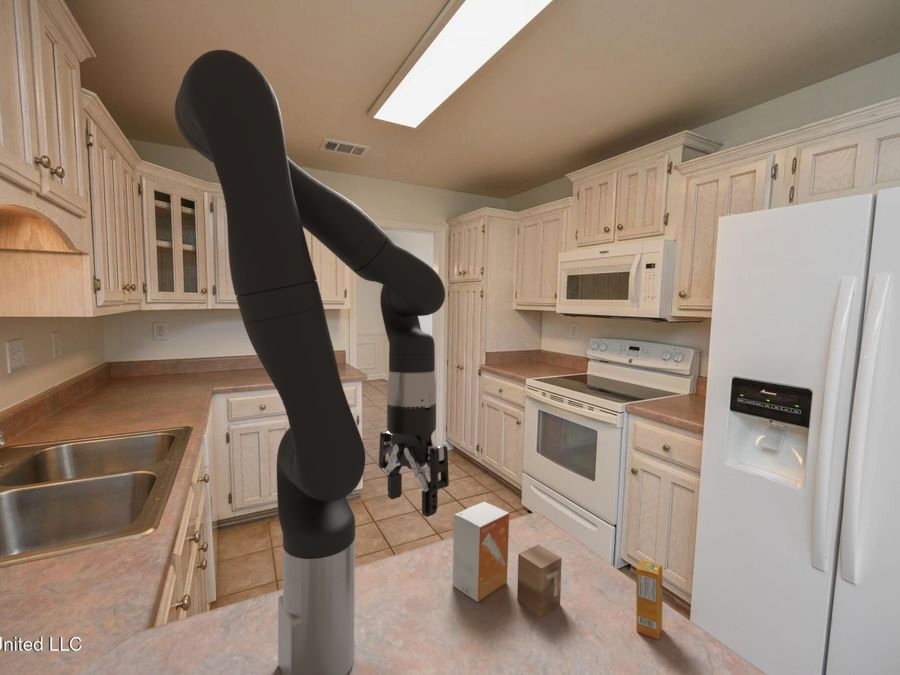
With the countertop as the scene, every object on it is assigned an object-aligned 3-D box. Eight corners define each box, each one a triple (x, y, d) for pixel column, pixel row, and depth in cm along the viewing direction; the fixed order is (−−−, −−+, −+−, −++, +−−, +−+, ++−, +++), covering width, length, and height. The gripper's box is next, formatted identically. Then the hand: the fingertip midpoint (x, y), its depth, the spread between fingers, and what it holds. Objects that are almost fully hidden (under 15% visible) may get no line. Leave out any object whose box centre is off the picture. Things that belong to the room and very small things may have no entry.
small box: (478, 604, 69) (479, 527, 68) (451, 585, 73) (452, 513, 73) (508, 583, 74) (510, 512, 74) (481, 567, 79) (483, 500, 78)
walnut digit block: (541, 618, 66) (542, 569, 65) (517, 599, 70) (518, 553, 69) (561, 605, 69) (562, 558, 68) (537, 588, 73) (538, 544, 72)
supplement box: (638, 618, 66) (640, 557, 65) (662, 628, 64) (665, 565, 63) (633, 631, 63) (636, 567, 63) (658, 641, 61) (661, 576, 61)
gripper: (365, 397, 66) (365, 499, 66) (422, 409, 56) (421, 529, 56) (403, 393, 71) (402, 487, 71) (461, 403, 61) (461, 513, 61)
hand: (411, 505), depth 64 cm, fingers open, 8 cm apart
